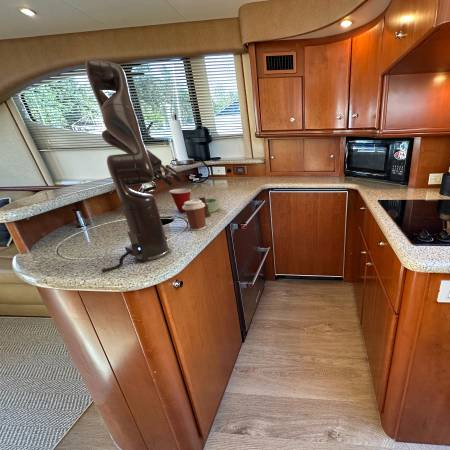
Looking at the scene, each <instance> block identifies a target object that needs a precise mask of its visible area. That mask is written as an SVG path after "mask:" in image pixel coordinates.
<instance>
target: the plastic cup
mask: <svg viewBox="0 0 450 450" xmlns="http://www.w3.org/2000/svg"><path fill="white" fill-rule="evenodd" d="M191 191H192V189H191V188H175V189H170V190H169V191H168V192H169V193H170V195H171V197H172V198H173V202H174V204H175V206H176V208H177V211H178V212H179V213H185V210H183V209H182V207H183V206H184V203H185V202H186V201H190V200H191Z"/></svg>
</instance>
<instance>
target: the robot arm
mask: <svg viewBox="0 0 450 450" xmlns="http://www.w3.org/2000/svg"><path fill="white" fill-rule="evenodd" d="M85 70H86V76H87V80H88V83H89V85H90V88H91V90H92V93H93V95H94V97H95V100H96V102H97V104H98V107H99V109H100V112H101V116H102V117H101V118H102V120H103V124H104V126H105V128H106V129H105V130H103V131H102V132H101V137H102V139H103V141H104V142H105V143H106V144H108V145H109V146H111V147H113V148H116V149H117V150H120V151H122V152H123V153H118V154H110V155H108V156H107V157H106V165H107V169H108V172H109V174H110V177H111V179H112V183H113V185H114V187H115V191H116V192H117V195H118V198H119V202H120V205H121V208H122V212H123V215H124V218H125V221H126V224H127V227H128V231H127V235H128V238H129V241H130V244H129V245H127V246H124V249H125V251H126V252H125V253H124V254H122V255H121V256H120V258H119V260H118V261H119V262H118V264H116V265H115V266H114V265H113V266H111V267H105V268H102V269H101V272H102V273H104V272H105V273H106V272H108V271H113V270H116V269H119V268H121V267H122V266H123V265H124V259H125V258H126V257H128V255H130V256H133V257H134V258H135V259H136V260H139V261H141V262H144V263H146V262H149V261H154V260H157V259H160V258H162V257H165V256H166V255H168V254H169V253H170V247H169V243H168V237H167V236H166V233H165V229H164V226H163V223H162V222H163V221H162V219H161V218H162V217H161V214H160V211H159V207H158V204H157V200H156V197H155V196H154V195H153V194H150V193H144V192H139V191H136V190H133V189H131V188H130V187H129V186H137V185H144V184H150V183H152V182H153V181H154V178H155V179H156V180H157V181H161V182H164V183H166V184H167V185H168V186H169V187H170V186H172V185H173V184H174V182H173V181H172V180H171V178H172V179H173V180H175V181H176V182H177V183H182V181H183V179H182V178H181V177H180V176H179V175H178V171H176V170H175V169H174V168H173V167H171V166H170V165H169V164H166V165H163V162H162V160H161V159H160V158H159V157H158V156H156V155H155V154H154V153H152V152H151V150H149V149H147V148H146V146H145V142H144V141H143V136H142V133H141V129H140V124H139V121H138V117H137V114H136V110H135V108H134V106H133V105H134V104H133V102H132V99H131V95H130V89H129V85H128V80H127V76H126V73H125V71H124V69H123V67H122V65H120V64H118V63H116V62H112V61H106V60H98V59H91V58H88V59H86V61H85ZM105 92H113V93H112V94H111V95H110V96H109V95H107V94H106V93H105ZM168 177H170V178H168Z"/></svg>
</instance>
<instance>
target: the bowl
mask: <svg viewBox="0 0 450 450" xmlns="http://www.w3.org/2000/svg"><path fill="white" fill-rule="evenodd" d="M205 200H206V204H208V208H209V213H210V214H211V213H215V212H217V211H218V210H220V206H219V201H218V200H219V199H217V198H213V197H211V198H205Z"/></svg>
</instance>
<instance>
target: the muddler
mask: <svg viewBox="0 0 450 450" xmlns="http://www.w3.org/2000/svg"><path fill="white" fill-rule="evenodd" d="M205 199H206V196H199V197H198V200H201V201H202V202H203V203H204V204H205V207H204V212H205V218H208V217H210V216H211V213H209V208H208V204H206V200H205Z"/></svg>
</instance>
